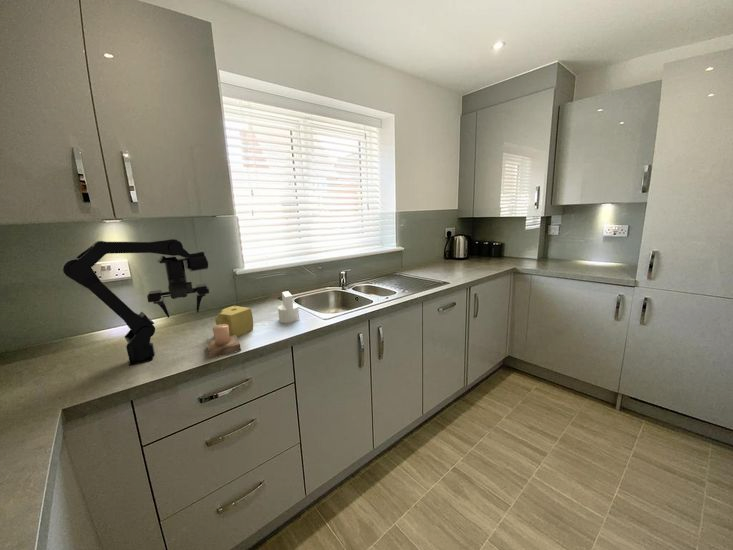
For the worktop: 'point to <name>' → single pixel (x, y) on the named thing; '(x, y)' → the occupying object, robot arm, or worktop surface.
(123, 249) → the robot arm
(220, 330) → the terracotta cylinder
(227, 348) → the walnut base
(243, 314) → the cheese
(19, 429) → the worktop surface
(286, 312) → the base with upright slab
